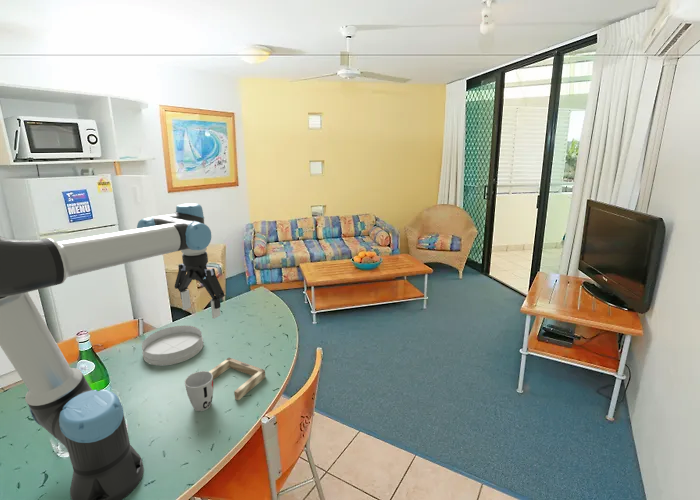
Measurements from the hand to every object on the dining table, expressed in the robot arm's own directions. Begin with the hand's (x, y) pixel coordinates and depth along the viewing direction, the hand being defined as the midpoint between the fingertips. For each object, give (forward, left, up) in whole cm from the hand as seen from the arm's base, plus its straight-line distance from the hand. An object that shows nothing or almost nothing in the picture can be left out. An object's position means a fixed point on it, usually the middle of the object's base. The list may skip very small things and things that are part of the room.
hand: (201, 312), depth 124 cm
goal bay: (+1, -9, -25) cm, 27 cm away
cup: (-12, -9, -26) cm, 30 cm away
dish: (+6, +27, -26) cm, 38 cm away
